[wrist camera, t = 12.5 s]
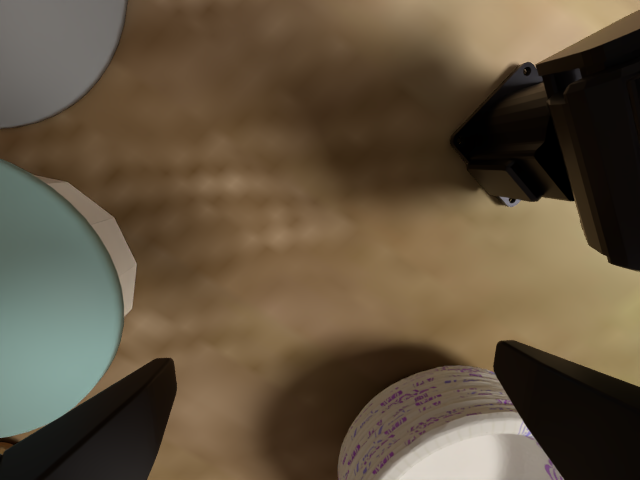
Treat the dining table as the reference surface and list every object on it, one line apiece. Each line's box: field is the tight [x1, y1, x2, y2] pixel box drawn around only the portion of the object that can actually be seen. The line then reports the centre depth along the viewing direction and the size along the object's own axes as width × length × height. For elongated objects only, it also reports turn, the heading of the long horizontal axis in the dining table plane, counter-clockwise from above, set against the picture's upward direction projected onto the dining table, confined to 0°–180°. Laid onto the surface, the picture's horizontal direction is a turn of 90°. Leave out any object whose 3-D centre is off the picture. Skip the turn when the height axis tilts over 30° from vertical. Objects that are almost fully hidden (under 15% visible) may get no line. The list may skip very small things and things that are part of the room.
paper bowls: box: [338, 365, 564, 480], centre depth 22 cm, size 15×15×8 cm
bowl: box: [34, 175, 137, 317], centre depth 18 cm, size 12×12×4 cm
